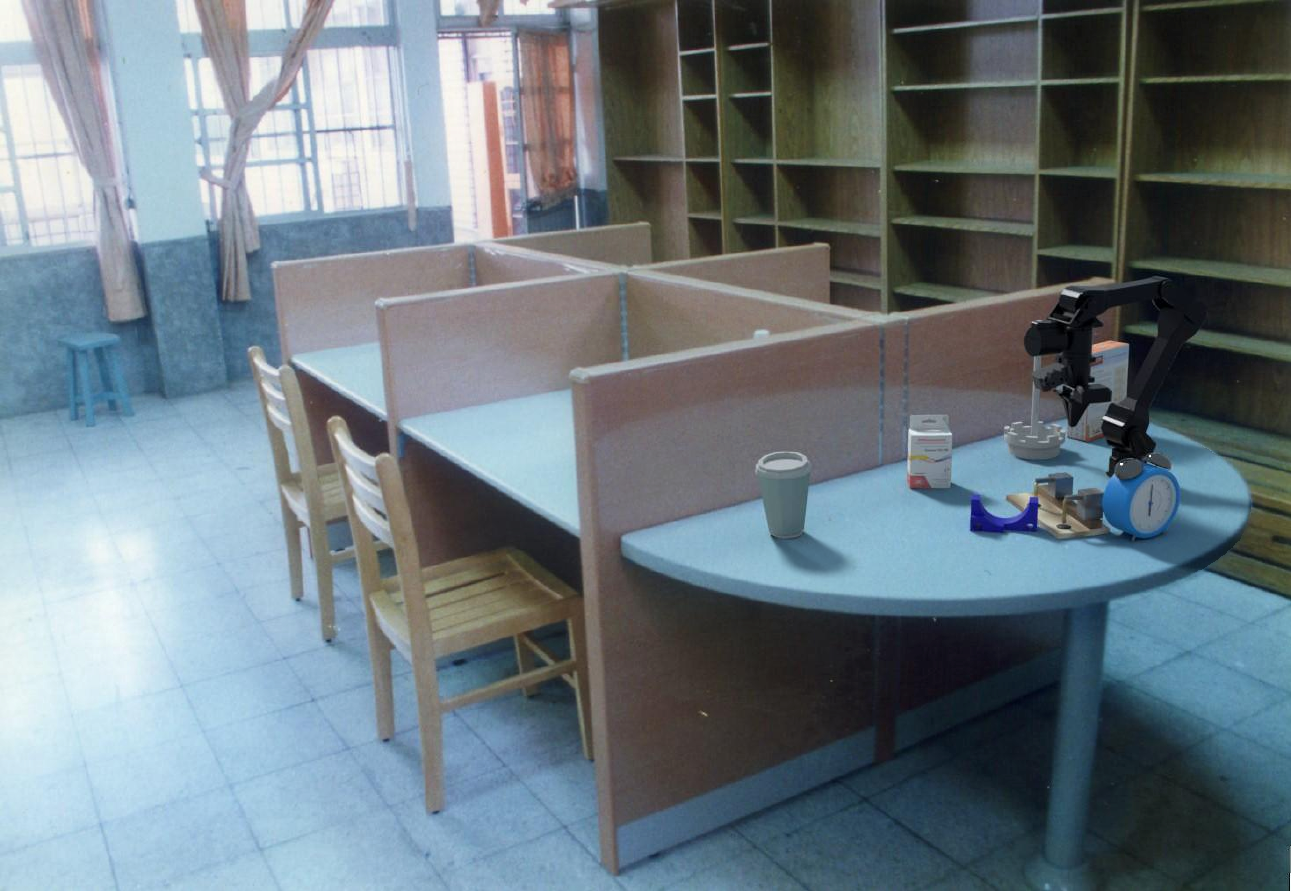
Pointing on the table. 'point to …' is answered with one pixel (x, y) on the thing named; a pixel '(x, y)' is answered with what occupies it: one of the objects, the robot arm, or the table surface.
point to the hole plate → (1054, 517)
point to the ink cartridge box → (929, 452)
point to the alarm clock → (1142, 496)
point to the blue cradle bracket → (991, 523)
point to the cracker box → (1110, 374)
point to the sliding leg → (1056, 485)
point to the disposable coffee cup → (784, 491)
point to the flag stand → (1034, 432)
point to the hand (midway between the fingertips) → (1072, 426)
